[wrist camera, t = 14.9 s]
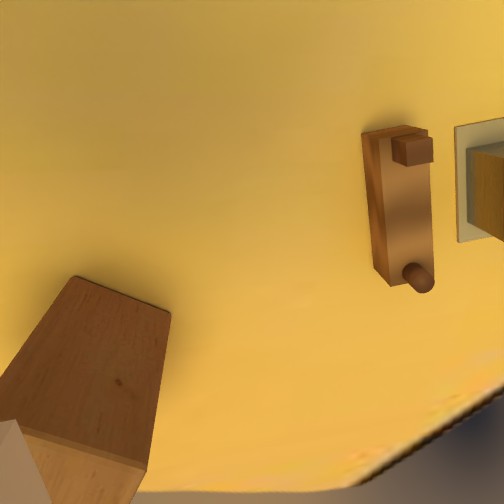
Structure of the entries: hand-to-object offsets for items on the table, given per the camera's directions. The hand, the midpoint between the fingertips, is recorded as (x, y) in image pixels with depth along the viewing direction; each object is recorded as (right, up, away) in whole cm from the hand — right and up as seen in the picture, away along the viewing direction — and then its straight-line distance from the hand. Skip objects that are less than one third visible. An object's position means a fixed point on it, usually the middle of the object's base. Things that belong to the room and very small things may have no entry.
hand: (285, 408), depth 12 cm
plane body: (+12, +9, +32) cm, 35 cm away
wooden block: (-15, -4, +34) cm, 38 cm away
